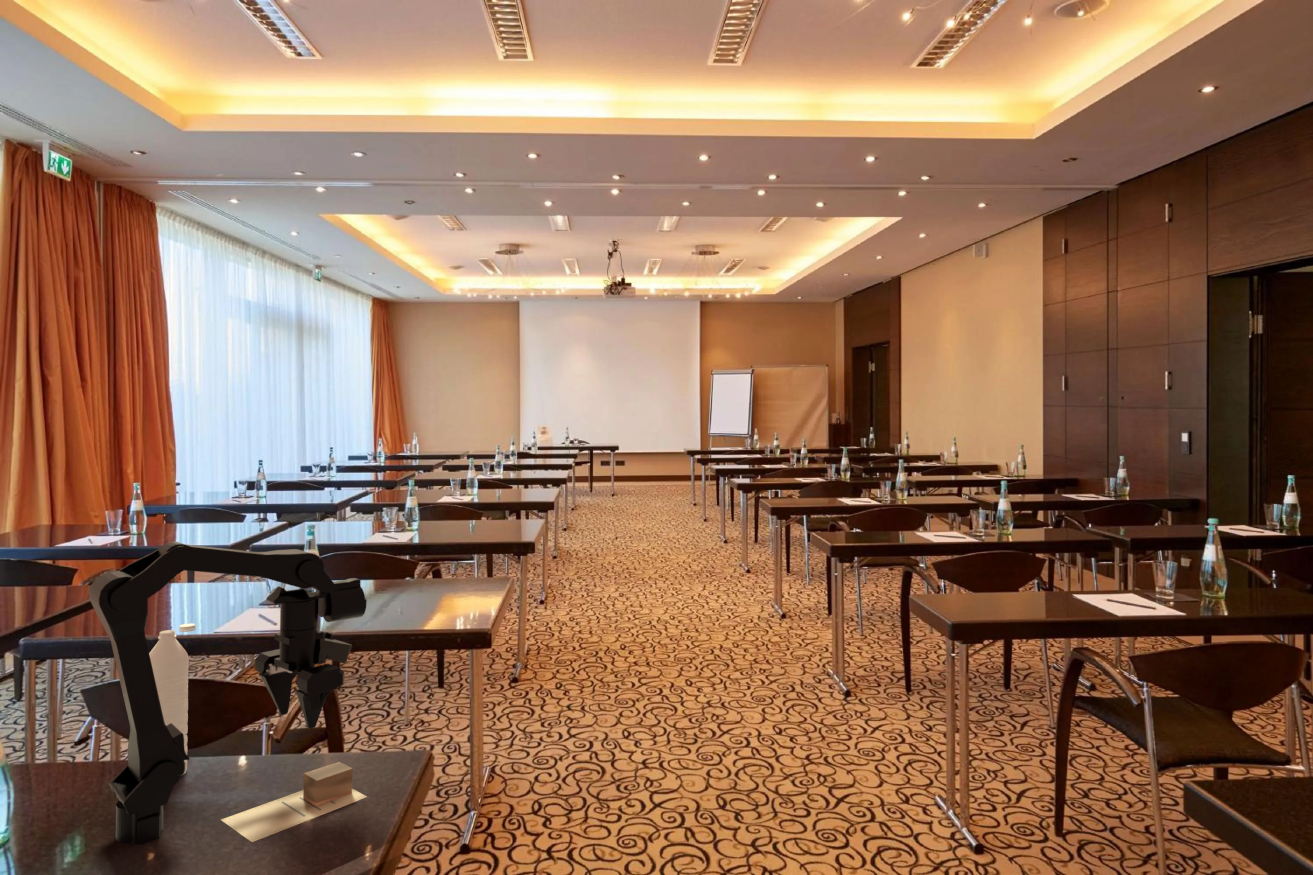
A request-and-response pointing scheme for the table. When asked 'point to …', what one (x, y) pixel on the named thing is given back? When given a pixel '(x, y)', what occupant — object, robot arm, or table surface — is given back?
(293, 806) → the birch board
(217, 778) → the table surface
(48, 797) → the table surface
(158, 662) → the water bottle
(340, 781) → the block
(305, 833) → the table surface
